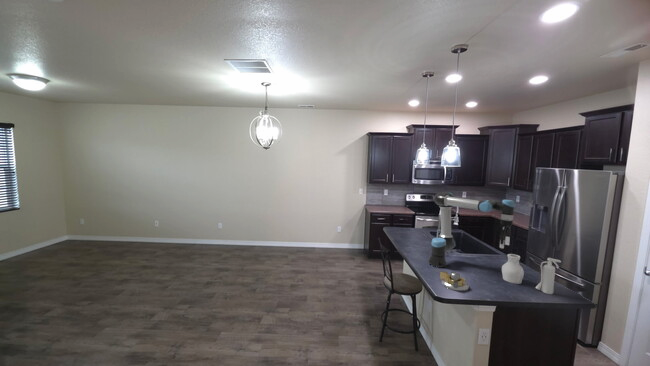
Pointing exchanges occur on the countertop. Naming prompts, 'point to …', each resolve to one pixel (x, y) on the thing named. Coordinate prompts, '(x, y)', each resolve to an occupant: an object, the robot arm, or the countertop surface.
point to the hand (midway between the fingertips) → (504, 246)
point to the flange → (455, 283)
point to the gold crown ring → (448, 279)
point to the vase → (513, 270)
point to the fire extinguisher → (547, 276)
